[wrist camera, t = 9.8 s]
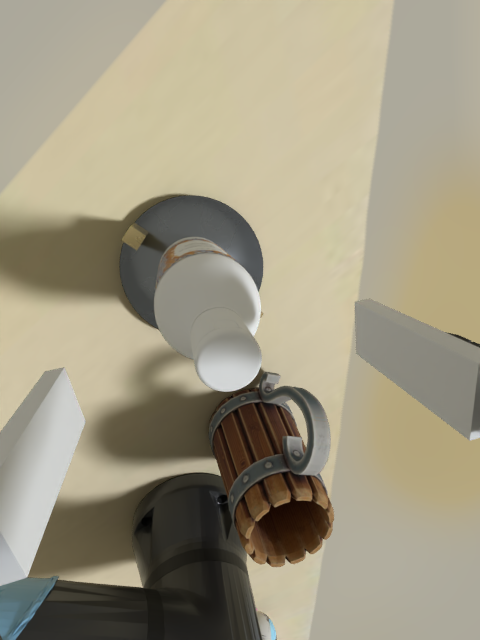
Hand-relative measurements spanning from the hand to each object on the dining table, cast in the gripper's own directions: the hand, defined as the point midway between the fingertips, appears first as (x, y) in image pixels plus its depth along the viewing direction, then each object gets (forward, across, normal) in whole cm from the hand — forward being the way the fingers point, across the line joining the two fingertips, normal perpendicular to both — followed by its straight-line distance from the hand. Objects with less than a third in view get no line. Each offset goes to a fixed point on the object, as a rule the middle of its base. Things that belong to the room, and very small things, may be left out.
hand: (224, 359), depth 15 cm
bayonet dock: (+20, 0, 0) cm, 20 cm away
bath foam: (+19, 0, 0) cm, 19 cm away
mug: (+21, +4, -18) cm, 27 cm away
